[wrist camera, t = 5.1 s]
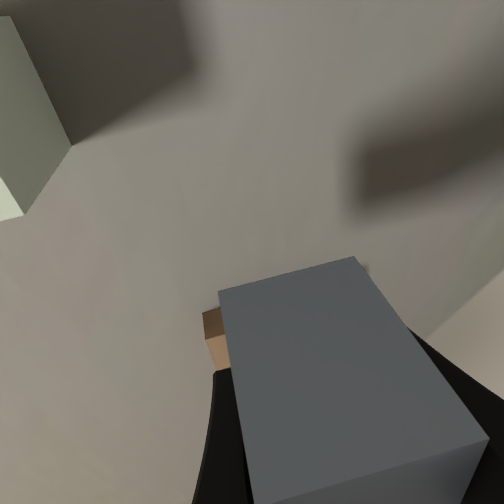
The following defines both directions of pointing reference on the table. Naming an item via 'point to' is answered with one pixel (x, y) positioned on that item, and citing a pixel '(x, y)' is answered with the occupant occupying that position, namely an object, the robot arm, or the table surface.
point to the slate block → (342, 395)
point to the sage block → (24, 127)
